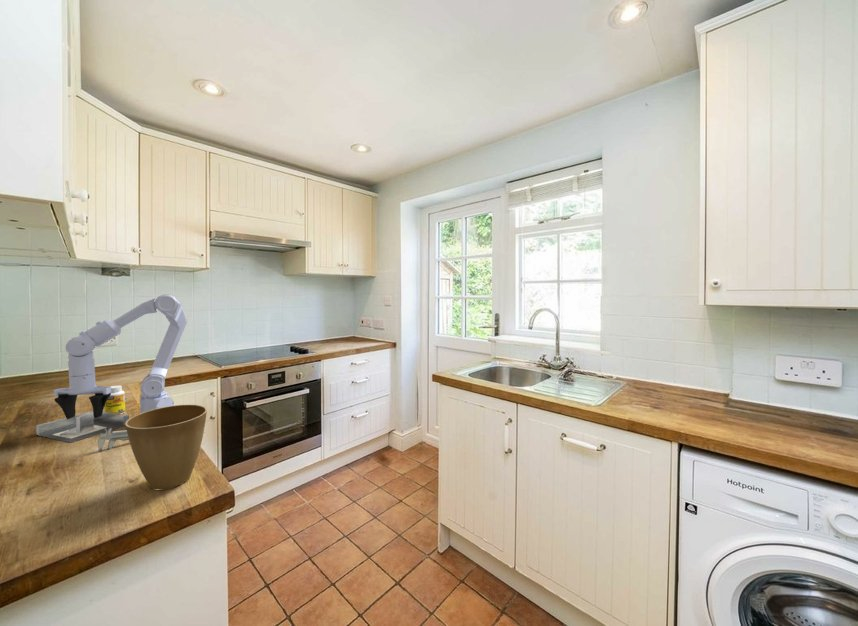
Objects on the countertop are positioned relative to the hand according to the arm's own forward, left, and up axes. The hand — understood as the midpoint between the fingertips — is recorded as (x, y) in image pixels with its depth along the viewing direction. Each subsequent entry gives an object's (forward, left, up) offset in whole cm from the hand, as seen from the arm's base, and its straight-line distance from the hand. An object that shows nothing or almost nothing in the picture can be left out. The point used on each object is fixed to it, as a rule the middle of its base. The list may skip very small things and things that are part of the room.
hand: (84, 417), depth 106 cm
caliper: (-23, -2, -5) cm, 24 cm away
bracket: (+2, +1, -5) cm, 5 cm away
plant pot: (-54, +12, -5) cm, 56 cm away
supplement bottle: (+10, -14, -5) cm, 18 cm away
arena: (+3, -1, -5) cm, 6 cm away
